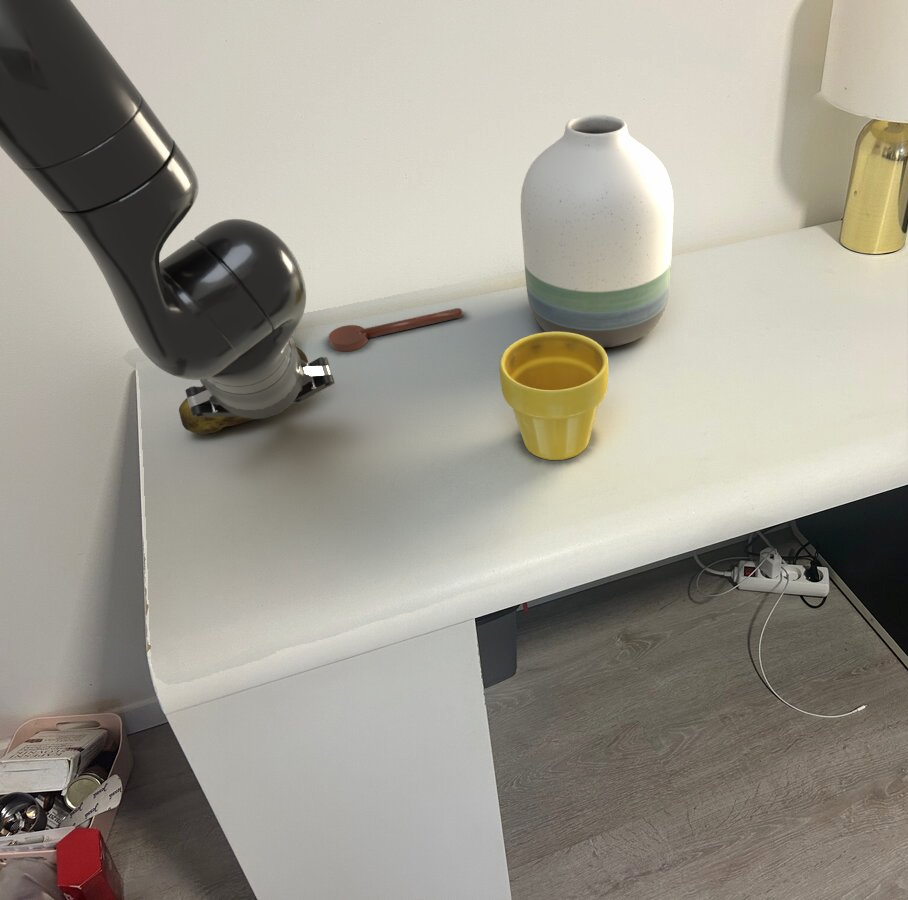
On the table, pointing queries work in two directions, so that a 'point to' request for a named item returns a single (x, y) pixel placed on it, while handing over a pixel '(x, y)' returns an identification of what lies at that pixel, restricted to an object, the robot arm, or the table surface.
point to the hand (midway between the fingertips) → (271, 405)
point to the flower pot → (554, 390)
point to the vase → (597, 233)
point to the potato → (214, 423)
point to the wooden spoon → (383, 329)
